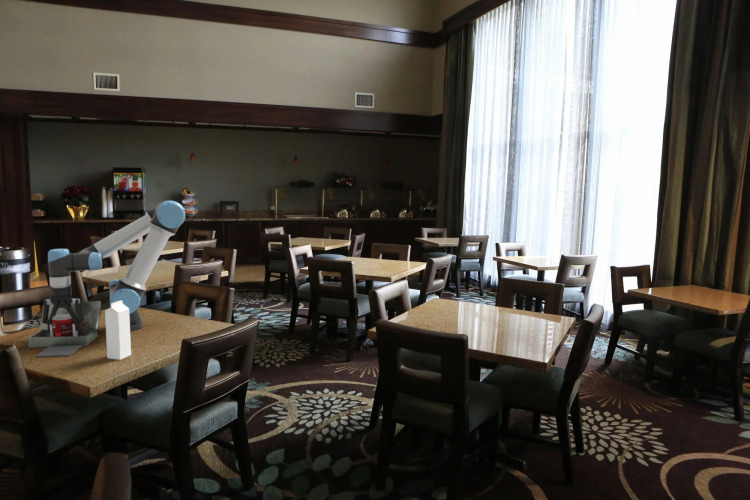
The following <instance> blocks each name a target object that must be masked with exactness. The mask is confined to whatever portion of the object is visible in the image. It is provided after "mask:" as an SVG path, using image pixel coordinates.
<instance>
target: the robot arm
mask: <svg viewBox="0 0 750 500" xmlns="http://www.w3.org/2000/svg"><path fill="white" fill-rule="evenodd" d="M144 214H145V215H143V216H141V217H139V218H137V219H136V220H134V221H131V222H130V223H129V224H127V225H125V226H124V227H122V228H120V229H118V230H116V231H114V232H113V233H110V234H109V235H107V236H106V237H104V238H102V239H99V240H98V241H97V242H95V243H93V244H92V245H90V246H87V247H86V248H84V249H82V250H80V251H79V252H77V253H75V252H74V253H72V252H71V253H70V250H69V249H68V248H54V249H50V250H49V251H48V252H47V265H48V275H49V286H50V288H49V289H50V298H49V299H48V298H45V299H44V300H43V301H42V304H43V305H44V309H43V308H42V311H43V318H42V317H41V318H42V323H43V324H44V323H45V324H47V325H48V332H50V334H51V337H53V325H52V317H54V316H55V315H56V313H57V310H58V309H59V308H65V309H66V310H67V311H68V313H69V314H70V316H71V318H72V320H73V322H74V324H72V326H73V336H78V330H79V329H80V327H79V323H80V322H82V321H83V320H84V317H83V313H82V309H81V305H80V301H82V300H81V298H74V297H73V295H72V294H73V291H72V285H71V284H72V277H71V272H81V271H83V272H84V271H85V272H86V271H98V270H99V271H100V270H102V268H103V259H105V258H106V257H108V256H110V255H112V254H114V253H116V252H117V251H119V250H120V249H123V248H124V247H127V245H129V244H132V243H133V242H135V241H136V240H138V239H140V238H142V237H143V236H145V235H146V237H145V238H144V240H143V242H142V244H141V246H140V248H139V250H138V252H137V254H136V255H135V258H134V259H133V261H132V263H131V265H130V267H129V268H128V270H127V273H126V274H125V276H123V277H120V278H119V279H111V280H110V281H109V283H108V285H109V286H108V288H109V302H108V303H109V306H110V307H109V308H111V303H114V302H117V301H121V300H122V301H123V304H124V305H125V306H126V307H128V308H129V318H130V332H131V331H135V330H139V329H142V328H143V327H144V321H143V318H142V315H141V313H140V310H139V307H140V305H141V300H142V298H143V296H144V294H145V291H146V290H147V288H146V285H145V284H146V282H147V280H148V278H149V277H150V274H151V273H152V271H153V269H154V268H155V265H156V263H157V262H158V260H159V258H160V256H161V253H162V252H163V250H164V248H165V246H166V245H167V243H168V240H169V239H170V237H172V236H175V235H176V234H177V231H178V230H179V228H180V226H181V225H182V224H184V222H185V219H186V211H185V209H184V207H183V205H182V204H181V203H179V202H177V201H175V200H168V199H166V200H163V201H160V202H158V204H156V205H155V206H154V207H152V208H151V209H149V210H148V211H146V212H145V213H144ZM50 302H51V303H52V304H53V305H54V306H53V308H52V312H51V314H50V317H49V319H48V315H49V306H50ZM71 302H74V304H75V309H76V312H77V315H76V313H75V312H74V310H73V308H72V305H71ZM77 316H78V317H77Z"/></svg>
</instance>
